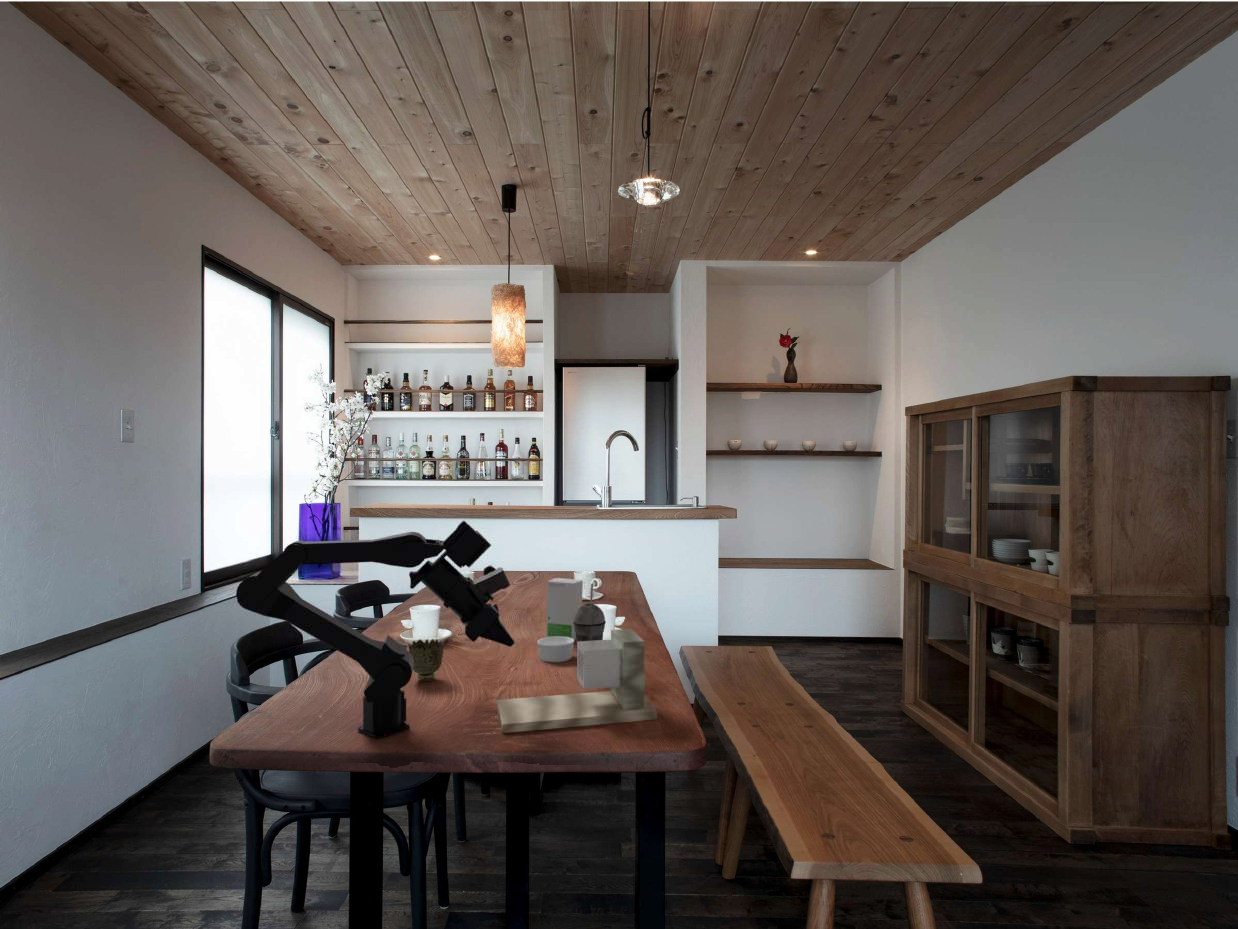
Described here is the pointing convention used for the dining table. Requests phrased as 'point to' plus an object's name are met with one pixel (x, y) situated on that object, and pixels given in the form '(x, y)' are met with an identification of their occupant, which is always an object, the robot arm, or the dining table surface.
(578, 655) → the grey cube
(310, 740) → the dining table surface
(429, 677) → the cup
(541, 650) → the ramekin
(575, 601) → the skincare box
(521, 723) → the l-shaped wooden stand
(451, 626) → the dining table surface
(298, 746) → the dining table surface
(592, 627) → the beverage cup
